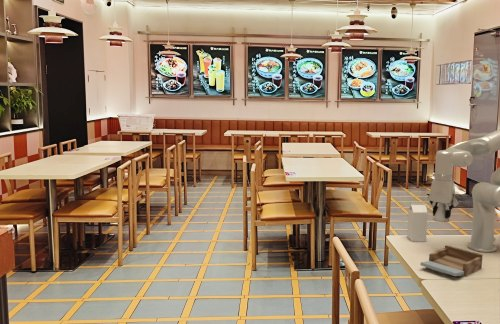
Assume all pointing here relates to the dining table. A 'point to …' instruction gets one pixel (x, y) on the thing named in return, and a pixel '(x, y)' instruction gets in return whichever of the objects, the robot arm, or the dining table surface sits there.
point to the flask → (441, 214)
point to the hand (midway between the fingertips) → (441, 216)
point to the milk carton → (417, 222)
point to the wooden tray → (457, 259)
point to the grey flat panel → (442, 268)
